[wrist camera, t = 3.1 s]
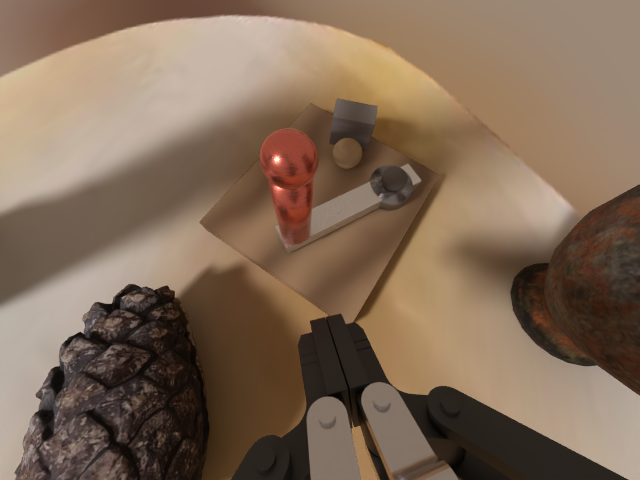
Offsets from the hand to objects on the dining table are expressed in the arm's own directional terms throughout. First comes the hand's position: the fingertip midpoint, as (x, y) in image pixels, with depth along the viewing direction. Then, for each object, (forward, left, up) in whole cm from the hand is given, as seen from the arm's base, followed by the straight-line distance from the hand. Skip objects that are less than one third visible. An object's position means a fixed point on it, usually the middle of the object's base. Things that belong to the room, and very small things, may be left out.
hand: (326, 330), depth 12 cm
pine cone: (-9, -12, -14) cm, 20 cm away
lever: (-4, +12, -11) cm, 17 cm away
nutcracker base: (-7, +12, -13) cm, 19 cm away
